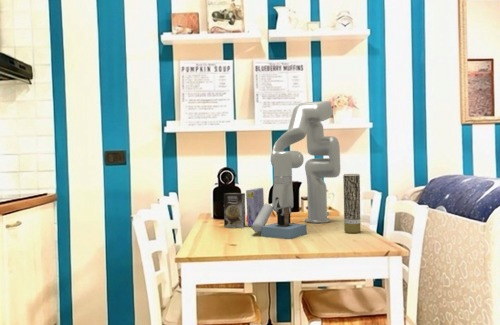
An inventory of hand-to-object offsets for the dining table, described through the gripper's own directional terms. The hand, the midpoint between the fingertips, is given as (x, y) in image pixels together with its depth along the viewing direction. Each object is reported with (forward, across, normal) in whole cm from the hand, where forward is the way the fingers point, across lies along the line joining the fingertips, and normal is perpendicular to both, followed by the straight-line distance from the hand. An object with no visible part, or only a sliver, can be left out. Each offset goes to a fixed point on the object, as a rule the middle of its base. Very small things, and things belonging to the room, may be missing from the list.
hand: (284, 223), depth 195 cm
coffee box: (+5, -7, -32) cm, 33 cm away
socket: (+5, 0, 0) cm, 5 cm away
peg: (+3, 0, 0) cm, 3 cm away
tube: (+1, -3, -14) cm, 14 cm away
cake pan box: (+5, -19, -28) cm, 34 cm away
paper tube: (+5, -20, +22) cm, 30 cm away
